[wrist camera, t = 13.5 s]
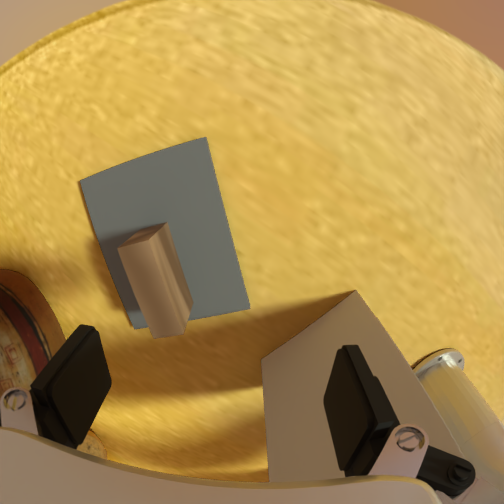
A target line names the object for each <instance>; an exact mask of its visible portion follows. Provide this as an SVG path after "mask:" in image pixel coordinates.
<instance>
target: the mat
mask: <svg viewBox="0 0 504 504" xmlns="http://www.w3.org/2000/svg"><path fill="white" fill-rule="evenodd" d="M80 183H81V187H82V190H83V194H84V197H85V201H86V204H87V208H88V211H89V214H90V217H91V220H92V224H93V227H94V230H95V233H96V236H97V239H98V241H99V244H100V247H101V250H102V253H103V255H104V258H105V261H106V264H107V266H108V269H109V271H110V274H111V276H112V279H113V281H114V284H115V286H116V289H117V291H118V294H119V296H120V298H121V301H122V303H123V305H124V307H125V310H126V312H127V314H128V316H129V318H130V321H131V323H132V325H133V327H134V329H140V328H147V327H148V325H147V323H146V320H145V318H144V316H143V313H142V311H141V309H140V306H139V304H138V302H137V299H136V297H135V294H134V292H133V289H132V287H131V284H130V282H129V279H128V277H127V274H126V271H125V269H124V266H123V263H122V261H121V258H120V255H119V252H118V249H117V248H118V247H119V246H121V245H122V244H123V243H124V242H125V241H127V240H128V239H129V238H130V237H132V236H133V235H134V234H135V233H137V232H138V231H139V230H140V229H144V228H147V227H151V226H155V225H158V224H162V223H166V222H168V225H169V229H170V232H171V235H172V239H173V242H174V245H175V248H176V251H177V255H178V258H179V261H180V264H181V267H182V270H183V273H184V276H185V279H186V282H187V285H188V288H189V291H190V294H191V296H192V299H193V302H194V303H193V306H192V309H191V312H190V315H189V318H188V321H189V320H195V319H200V318H206V317H211V316H216V315H222V314H227V313H232V312H237V311H242V310H247V309H250V303H249V299H248V296H247V292H246V288H245V285H244V281H243V277H242V273H241V270H240V266H239V262H238V259H237V255H236V251H235V247H234V243H233V240H232V236H231V232H230V228H229V224H228V221H227V217H226V213H225V209H224V205H223V201H222V197H221V193H220V190H219V186H218V182H217V178H216V174H215V170H214V166H213V162H212V158H211V154H210V150H209V146H208V142H207V138H206V137H204V138H200V139H196V140H193V141H189V142H186V143H183V144H179V145H176V146H173V147H169V148H166V149H163V150H160V151H157V152H154V153H151V154H148V155H145V156H142V157H139V158H136V159H134V160H131V161H128V162H125V163H123V164H120V165H117V166H115V167H112V168H110V169H107V170H104V171H102V172H99V173H97V174H95V175H92V176H90V177H87V178H85V179H83V180H80Z"/></svg>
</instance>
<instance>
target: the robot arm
mask: <svg viewBox="0 0 504 504" xmlns="http://www.w3.org/2000/svg"><path fill="white" fill-rule="evenodd" d="M463 368H464V358H463V356H462V354H461V353H460V352H459V351H458V350H456V349H444V350H441V351H438V352H436V353H434V354H432V355H430V356H429V357H427V358H426V359H424V360H423V361H422V362H421V363H419V364H418V365H417V366H416V367H415V368H414V369H413V371H414V373H415V374H416V376H417V378H418V379H419V381H420V382H421V384H422V385H423V387H424V389H425V390H426V392H427V393H428V395H429V397H430V398H431V400H432V401H433V403H434V405H435V406H436V408H437V410H438V411H439V413H440V415H441V416H442V418H443V420H444V421H445V423H446V425H447V427H448V428H449V430H450V432H451V433H452V435H453V437H454V439H455V440H456V442H457V444H458V446H459V448H460V449H461V451H462V453H463V455H464V457H465V459H466V460H465V459H463V458H460V457H458V456H455V455H452V454H450V453H447V452H445V451H442V450H440V449H437V448H435V447H432V446H430V445H428V444H429V438H428V435H427V433H426V432H425V430H423V429H422V428H421V427H419V426H417V425H415V424H401V425H400V422H399V420H398V418H397V416H396V414H395V412H394V410H393V407H392V405H391V403H390V401H389V399H388V397H387V395H386V393H385V391H384V389H383V387H382V385H381V383H380V381H379V379H378V377H376V376H373V374H372V372H371V370H370V368H369V366H368V364H367V362H366V360H365V357H364V355H363V353H362V351H361V350H360V348H359V346H358V345H343V346H342V348H341V349H338V350H337V352H336V356H335V360H334V363H333V367H332V370H331V374H330V377H329V381H328V384H327V388H326V391H325V394H324V398H323V405H324V409H325V413H326V417H327V421H328V425H329V429H330V433H331V437H332V441H333V445H334V450H335V454H336V458H337V462H338V467H339V469H340V471H344V474H345V477H344V478H335V479H325V480H312V481H293V482H240V481H224V480H212V479H202V478H194V477H186V476H179V475H173V474H167V473H162V472H156V471H151V470H147V469H142V468H138V467H133V466H129V465H125V464H121V463H117V462H114V461H110V460H107V459H103V458H100V457H97V456H94V455H91V454H88V453H85V452H82V451H79V450H76V449H77V447H78V445H81V444H82V443H83V441H84V439H85V437H86V435H87V433H88V431H89V429H90V427H91V425H92V423H93V421H94V419H95V417H96V415H97V413H98V411H99V409H100V407H101V405H102V403H103V401H104V399H105V397H106V395H107V393H108V391H109V389H110V387H111V383H112V382H111V377H110V373H109V370H108V366H107V363H106V359H105V355H104V351H103V348H102V344H101V339H100V335H99V332H98V331H96V329H95V328H94V327H93V326H88V325H83V324H81V325H79V326H78V328H77V329H76V330H75V331H74V332H73V333H72V335H71V336H70V337H69V338H68V339H67V340H66V342H65V343H64V344H63V345H62V346H61V348H60V349H59V350H58V351H57V352H56V354H55V355H54V356H53V357H52V358H51V360H50V361H49V362H48V363H47V365H46V366H45V367H44V368H43V370H42V371H41V372H40V373H39V375H38V376H37V377H36V378H35V380H34V381H33V382H32V384H31V385H30V387H31V389H30V391H28V390H27V389H25V388H23V387H13V388H10V389H8V390H7V391H5V392H4V394H3V395H2V397H1V399H0V504H504V426H503V424H502V423H501V421H500V420H499V419H498V417H497V416H496V414H495V413H494V412H493V410H492V409H491V407H490V406H489V405H488V403H487V402H486V401H485V399H484V398H483V397H482V395H481V394H480V393H479V391H478V390H477V389H476V387H475V386H474V385H473V383H472V382H471V381H470V380H469V378H468V377H467V376H466V374H465V373H464V372H463ZM352 476H355V477H352Z"/></svg>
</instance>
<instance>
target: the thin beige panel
mask: <svg viewBox="0 0 504 504" xmlns="http://www.w3.org/2000/svg"><path fill="white" fill-rule="evenodd" d="M343 345H358V346H359V348H360V350H361V351H362V353H363V355H364V357H365V360H366V362H367V364H368V366H369V368H370V370H371V372H372V374H373V376H376V377H378V379H379V381H380V383H381V385H382V387H383V389H384V391H385V393H386V395H387V397H388V399H389V401H390V403H391V405H392V407H393V410H394V412H395V414H396V416H397V418H398V420H399V422H400V425H401V424H415V425H417V426H419V427H421V428H422V429H423V430H425V432H426V433H427V435H428V438H429V444H428V445H430V446H432V447H435V448H437V449H440V450H442V451H445V452H447V453H450V454H452V455H455V456H458V457H460V458H463V459H465V457H464V455H463V453H462V451H461V449H460V448H459V446H458V444H457V442H456V440H455V439H454V437H453V435H452V433H451V432H450V430H449V428H448V427H447V425H446V423H445V421H444V420H443V418H442V416H441V415H440V413H439V411H438V410H437V408H436V406H435V405H434V403H433V401H432V400H431V398H430V397H429V395H428V393H427V392H426V390H425V389H424V387H423V385H422V384H421V382H420V381H419V379H418V378H417V376H416V374H415V373H414V371H413V370H412V368H411V367H410V365H409V364H408V362H407V361H406V359H405V358H404V356H403V355H402V353H401V352H400V350H399V349H398V347H397V346H396V344H395V343H394V341H393V340H392V338H391V337H390V336H389V334H388V333H387V331H386V330H385V328H384V327H383V325H382V324H381V323H380V321H379V320H378V318H377V317H375V315H374V314H373V313H372V311H371V310H370V308H369V307H368V306H367V304H366V303H365V301H364V300H363V299H362V297H361V296H360V294H359V293H358V292H357V290H355V291H354V292H353V293H351V294H350V295H349V296H348V297H346V298H345V299H344V300H343V301H341V302H340V303H339V304H337V305H336V306H335V307H334V308H332V309H331V310H330V311H328V312H327V313H326V314H324V315H323V316H322V317H320V318H319V319H318V320H316V321H315V322H314V323H312V324H311V325H310V326H308V327H307V328H305V329H304V330H303V331H301V332H300V333H298V334H297V335H296V336H294V337H293V338H291V339H290V340H289V341H287V342H286V343H284V344H283V345H281V346H280V347H279V348H277V349H276V350H274V351H273V352H271V353H270V354H268V355H267V356H265V357H264V358H262V359H261V368H262V383H263V397H264V412H265V427H266V442H267V457H268V472H269V482H293V481H312V480H325V479H335V478H344V477H345V474H344V471H340V469H339V467H338V462H337V458H336V454H335V450H334V445H333V441H332V437H331V433H330V429H329V425H328V421H327V417H326V413H325V409H324V405H323V398H324V394H325V391H326V388H327V384H328V381H329V377H330V374H331V370H332V367H333V363H334V360H335V356H336V352H337V350H338V349H341V348H342V346H343ZM465 460H466V459H465ZM352 477H355V476H352Z"/></svg>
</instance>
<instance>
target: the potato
mask: <svg viewBox="0 0 504 504" xmlns="http://www.w3.org/2000/svg"><path fill="white" fill-rule="evenodd" d="M76 450H79V451H82V452H85V453H88V454H91V455H94V456H97V457H100V458H103V459H107V451H106V449H105V448H104V446H103V444H102V442H101V441H100V439H99V438H98V437H97V436H96V435H95V434H94V433H93V432H91V431H90V430H89V431H88V433H87V435H86V437H85V439H84V441H83V443H82V444H81V445H78V447H77V449H76Z"/></svg>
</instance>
